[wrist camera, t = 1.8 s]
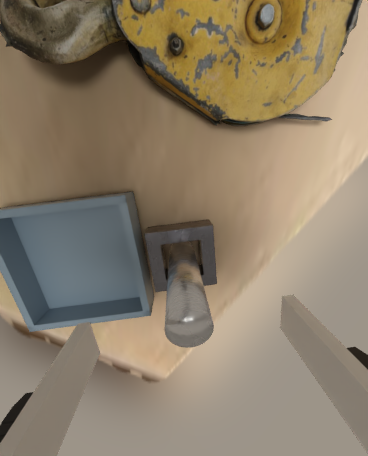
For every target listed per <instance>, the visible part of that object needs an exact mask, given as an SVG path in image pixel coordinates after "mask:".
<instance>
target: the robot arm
mask: <svg viewBox="0 0 368 456" xmlns="http://www.w3.org/2000/svg"><path fill="white" fill-rule="evenodd" d="M281 330H282V331H283V332H284V334H285V335H286V337H287V338H288V340H289V341H290V343H291V344H292V345H293V347H294V348H295V350H296V351H297V353H298V354H299V355H300V357H301V358H302V360H303V361H304V363H305V364H306V365H307V367H308V368H309V370H310V371H311V373H312V374H313V376H314V377H315V379H316V380H317V381H318V383H319V384H320V386H321V387H322V389H323V390H324V391H325V393H326V394H327V396H328V397H329V399H330V400H331V401H332V403H333V404H334V406H335V407H336V409H337V410H338V412H339V413H340V415H341V416H342V417H343V419H344V420H345V422H346V423H347V425H348V426H349V427H350V429H351V430H352V432H353V433H354V434H355V436H356V438H357V439H358V440H359V442H360V443H361V445H362V446H363V448H364V449H365V450H366V452H367V453H368V355H367V354H365V353H364V352H362V351H361V350H359V349H358V348H356V347H351V348H346V347H345V346H344V345H343V344H342V343H341V342H340V341H339V340H338V339H337V338H336V337H335V336H334V335H333V334H332V333H331V332H330V331H329V330H327V328H326V327H325V326H324V325H323V324H322V323H321V322H320V321H319V320H318V319H317V318H316V317H315V316H314V315H313V314H312V313H311V312H310V311H309V310H308V309H307V308H306V307H305V306H304V305H303V304H302V303H301V302H300V301H299V300H298V299H297V298H296V297H295V296H294V295H288V296H283V297H282V309H281ZM99 354H100V351H99V348H98V345H97V342H96V339H95V336H94V333H93V330H92V327H91V324H90V322H86V323H79V324H78V325H77V326H76V328H75V329H74V331H73V332H72V334H71V335H70V337H69V339H68V340H67V342H66V343H65V345H64V346H63V348H62V349H61V351H60V352H59V354H58V356H57V357H56V359H55V360H54V362H53V363H52V365H51V366H50V368H49V369H48V371H47V372H46V374H45V376H44V377H43V378H42V380H41V382H40V383H39V385H38V386H37V388H36V389H35V391H34V392H32V393H26V394H25V395H24V396H23V397H22V398H21V399H20V400H19V401H18V402H17V403H16V404H15V405H14V406H13V407H12V409H11V410H10V412H9V413H8V414H7V416H6V417H5V418H4V420H3V421H2V424H1V425H0V456H57V454H58V452H59V449H60V447H61V445H62V442H63V440H64V437H65V435H66V433H67V430H68V428H69V425H70V423H71V421H72V418H73V416H74V413H75V411H76V409H77V406H78V404H79V402H80V399H81V397H82V395H83V392H84V390H85V387H86V385H87V383H88V380H89V378H90V376H91V373H92V371H93V368H94V366H95V364H96V361H97V359H98V357H99Z"/></svg>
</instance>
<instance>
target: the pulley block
mask: <svg viewBox="0 0 368 456" xmlns="http://www.w3.org/2000/svg"><path fill="white" fill-rule="evenodd" d="M361 3H362V0H0V21H1V24H0V32H1V33H2V35H3V37H4V39H5V40H6V42H7V44H6V46H5V47H7V46H12V47H14V48H16V49H18V50H20V51H22V52H24V53H25V54H27V55H28V56H30V57H32V58H34V59H36V60H39V61H41V62H46V63H54V64H67V63H74V62H77V61H81V60H84V59H86V58H88V57H89V56H91V55H92V54H94V53H96V52H97V51H99V50H100V49H102V48H104V47H105V46H107V45H108V44H111V43H114V42H117V41H120V40H127V43H128V47H129V51H130V52H131V54H132V56H133V57H134V59H135V61H136V62H137V64H138V65H139V66H140V67H141V68H143V69H144V71H145V72H146V73H147V75H148V77H149V78H150V79H151V80H152V81H153V82H155V83H156V84H157V85H159V86H160V87H161V88H163V89H164V90H166V91H167V92H169V93H170V94H172V95H173V96H175V97H176V98H178V99H179V100H181V101H182V102H184V103H185V104H187V105H188V106H190V107H191V108H193V109H194V110H195V111H197V112H198V113H200V114H201V115H203V116H204V117H206V118H207V119H209V120H210V121H211V122H213V123H214V124H215V125H217V124H219V123H220V122H219V121H220V120H222V121H223V122H224V123H226V124H229V125H234V126H246V125H253V124H257V123H260V122H263V121H266V120H269V119H273V118H287V119H302V120H322V121H329V120H332V119H331V118H328V117H318V116H312V117H308V116H304V115H300V114H287V113H289V112H291V111H293V110H294V109H296V108H297V107H299V106H300V105H302V104H303V103H305V102H306V101H307V100H308V99H310V98H311V97H312V96H313V95H315V94H316V93H317V92H318V91H319V90H320V89H321V88H322V87H323V86H324V85H325V84H326V83H327V82H328V81H329V79H330V78H331V77H332V74H333V72H334V71H335V66H336V64H337V62H338V60H339V58H340V56H342V55H343V54H344V53H343V52H342V50H343V48H344V46H345V45H346V43H347V38H348V35H349V33H350V32H351V31H352V29H353V28H354V27H355V26H356V23H357V19H358V11H359V8H360V5H361Z"/></svg>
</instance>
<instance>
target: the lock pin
mask: <svg viewBox="0 0 368 456" xmlns="http://www.w3.org/2000/svg"><path fill="white" fill-rule="evenodd" d="M213 328H214V325H213V321H212V317H211V313H210V309H209V305H208V301H207V297H206V294H205V290H204V286H203V282H202V278H201V274H200V270H199V266H198V263H197V259H196V255H195V251H194V247H193V245H192V244H191V243H190V242H188V241H186V242H178V243H173V244H172V245H171V247H170V253H169V269H168V285H167V300H166V316H165V334H166V337H167V338H168V339H169V341H170V342H172V343H173V344H175V345H177V346H180V347H195V346H198V345H201V344H203V343H204V342H205V341H207V340H208V339H209V338H210V336H211V335H212V333H213Z"/></svg>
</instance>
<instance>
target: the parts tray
mask: <svg viewBox="0 0 368 456" xmlns="http://www.w3.org/2000/svg"><path fill="white" fill-rule="evenodd" d="M0 271H1V273H2V275H3V277H4V279H5V281H6V283H7V286H8V288H9V290H10V292H11V294H12V296H13V298H14V300H15V302H16V304H17V306H18V308H19V310H20V312H21V314H22V316H23V318H24V320H25V323H26V325H27V327H28V329H29V331H30V332H31V331H39V330H46V329H54V328H61V327H69V326H76V325H78V324H79V323H86V322H90V324H91V323H99V322H106V321H114V320H121V319H129V318H136V317H144V316H151V312H152V306H153V300H154V294H153V289H152V284H151V279H150V274H149V269H148V264H147V259H146V254H145V249H144V244H143V238H142V233H141V228H140V223H139V218H138V213H137V208H136V203H135V198H134V193H133V192H124V193H116V194H108V195H100V196H92V197H83V198H75V199H67V200H59V201H51V202H42V203H34V204H26V205H18V206H10V207H3V208H0Z"/></svg>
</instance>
